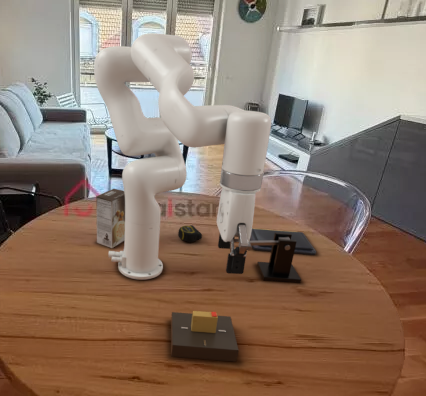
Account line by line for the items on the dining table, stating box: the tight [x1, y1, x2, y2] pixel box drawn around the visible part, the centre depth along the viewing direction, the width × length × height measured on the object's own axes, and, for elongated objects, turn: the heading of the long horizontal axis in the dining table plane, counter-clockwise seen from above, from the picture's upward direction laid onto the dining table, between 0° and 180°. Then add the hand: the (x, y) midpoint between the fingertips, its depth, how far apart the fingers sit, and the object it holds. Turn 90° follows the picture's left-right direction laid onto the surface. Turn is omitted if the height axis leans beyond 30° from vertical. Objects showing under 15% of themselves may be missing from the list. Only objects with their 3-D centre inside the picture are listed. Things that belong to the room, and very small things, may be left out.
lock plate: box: [170, 311, 239, 363], centre depth 77 cm, size 13×10×3 cm
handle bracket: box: [256, 232, 302, 284], centre depth 102 cm, size 10×8×12 cm
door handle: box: [247, 237, 290, 252], centre depth 101 cm, size 12×6×2 cm, turn 87°
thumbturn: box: [191, 310, 219, 333], centre depth 76 cm, size 5×2×4 cm, turn 87°
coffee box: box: [95, 188, 125, 249], centre depth 115 cm, size 9×6×16 cm
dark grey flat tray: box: [249, 227, 317, 256], centre depth 122 cm, size 20×2×15 cm
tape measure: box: [177, 225, 203, 243], centre depth 120 cm, size 7×7×4 cm
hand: (229, 259), depth 74 cm, fingers open, 9 cm apart
